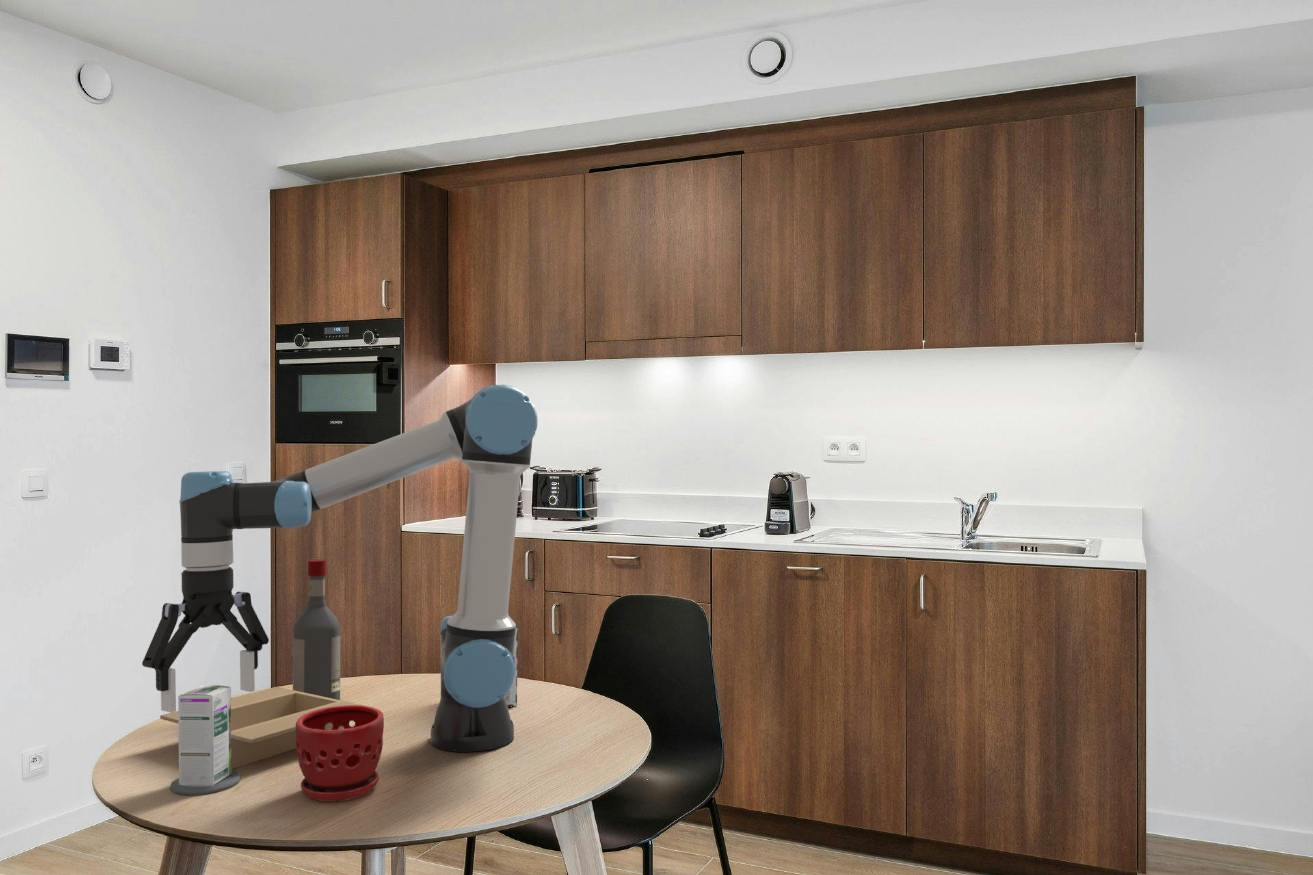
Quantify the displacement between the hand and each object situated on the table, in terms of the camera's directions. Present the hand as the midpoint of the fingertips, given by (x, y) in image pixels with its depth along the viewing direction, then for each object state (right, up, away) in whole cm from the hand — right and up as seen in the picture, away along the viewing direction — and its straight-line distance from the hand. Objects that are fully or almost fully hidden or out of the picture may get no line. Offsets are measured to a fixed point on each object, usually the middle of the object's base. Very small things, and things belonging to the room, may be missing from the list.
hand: (209, 700), depth 151 cm
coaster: (0, -13, 0) cm, 13 cm away
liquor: (0, -14, +48) cm, 50 cm away
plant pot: (+22, -14, -4) cm, 26 cm away
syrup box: (-1, -13, 0) cm, 13 cm away
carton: (+1, -14, +20) cm, 24 cm away
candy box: (+36, -14, +50) cm, 63 cm away
